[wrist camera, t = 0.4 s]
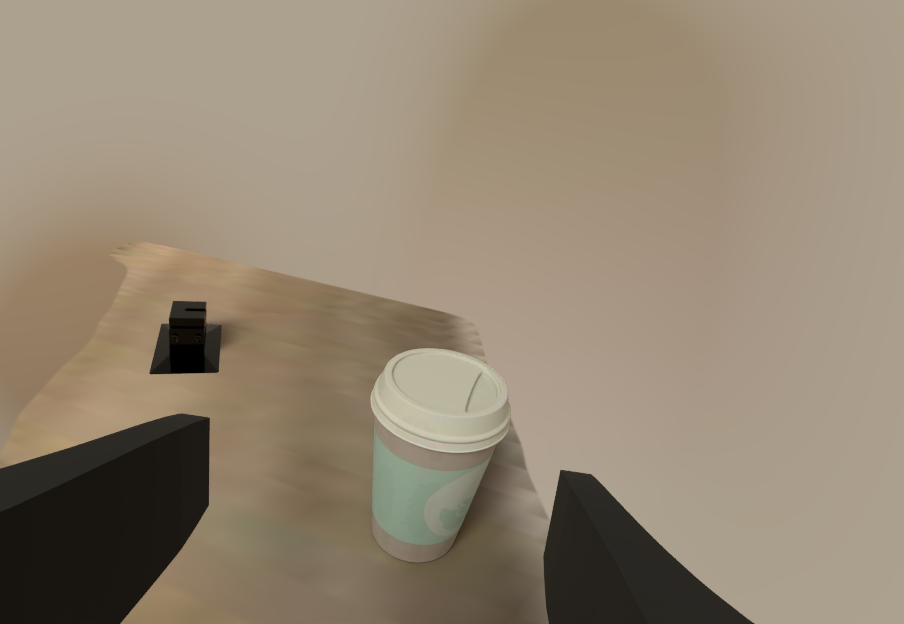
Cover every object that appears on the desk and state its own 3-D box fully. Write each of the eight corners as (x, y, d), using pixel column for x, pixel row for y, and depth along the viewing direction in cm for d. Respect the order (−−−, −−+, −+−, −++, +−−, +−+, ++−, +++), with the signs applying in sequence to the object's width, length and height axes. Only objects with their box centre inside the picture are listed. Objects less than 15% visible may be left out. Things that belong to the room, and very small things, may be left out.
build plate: (227, 387, 47) (228, 342, 45) (132, 389, 44) (130, 341, 42) (229, 323, 57) (230, 284, 56) (152, 321, 55) (151, 281, 53)
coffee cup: (405, 608, 31) (444, 443, 26) (326, 513, 36) (345, 361, 31) (500, 540, 36) (546, 396, 32) (420, 467, 42) (449, 333, 37)
